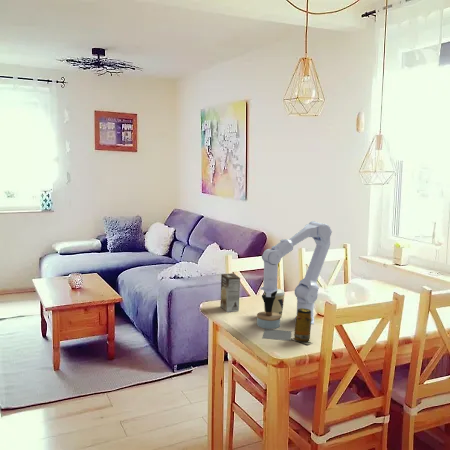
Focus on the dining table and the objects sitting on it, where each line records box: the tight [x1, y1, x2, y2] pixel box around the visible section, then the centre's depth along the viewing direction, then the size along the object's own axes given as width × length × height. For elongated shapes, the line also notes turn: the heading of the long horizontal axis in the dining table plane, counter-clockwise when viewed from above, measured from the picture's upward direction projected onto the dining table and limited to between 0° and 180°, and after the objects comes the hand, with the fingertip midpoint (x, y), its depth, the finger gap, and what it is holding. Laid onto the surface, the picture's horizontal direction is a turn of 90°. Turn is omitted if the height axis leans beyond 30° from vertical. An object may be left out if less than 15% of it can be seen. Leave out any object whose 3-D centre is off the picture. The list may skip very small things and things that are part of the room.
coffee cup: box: [263, 288, 286, 319], centre depth 216 cm, size 9×9×12 cm
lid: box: [256, 310, 282, 321], centre depth 203 cm, size 10×10×5 cm
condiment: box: [290, 308, 314, 345], centre depth 187 cm, size 7×8×12 cm
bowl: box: [256, 317, 281, 330], centre depth 204 cm, size 10×10×4 cm
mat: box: [261, 328, 292, 342], centre depth 192 cm, size 11×11×1 cm
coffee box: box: [220, 272, 241, 313], centre depth 225 cm, size 9×6×16 cm
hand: (269, 309), depth 203 cm, fingers open, 7 cm apart
